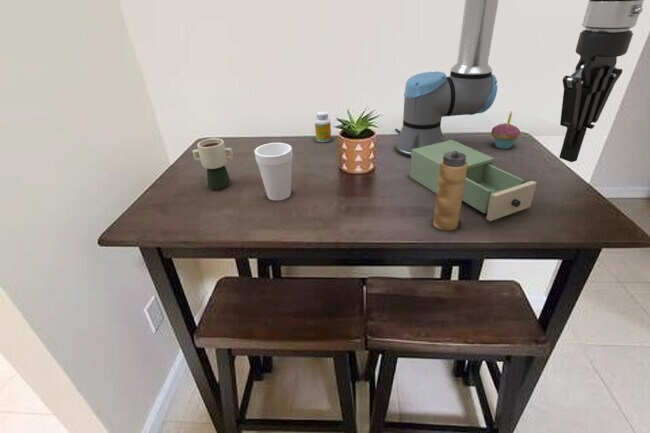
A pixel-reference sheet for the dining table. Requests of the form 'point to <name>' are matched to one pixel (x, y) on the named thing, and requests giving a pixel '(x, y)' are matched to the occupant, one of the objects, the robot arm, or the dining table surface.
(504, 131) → the cupcake
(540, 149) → the dining table surface
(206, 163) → the character mug
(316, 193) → the dining table surface
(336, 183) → the dining table surface
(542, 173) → the dining table surface
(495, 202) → the drawer
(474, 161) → the cabinet
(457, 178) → the pepper mill
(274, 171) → the foam cup
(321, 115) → the supplement bottle
